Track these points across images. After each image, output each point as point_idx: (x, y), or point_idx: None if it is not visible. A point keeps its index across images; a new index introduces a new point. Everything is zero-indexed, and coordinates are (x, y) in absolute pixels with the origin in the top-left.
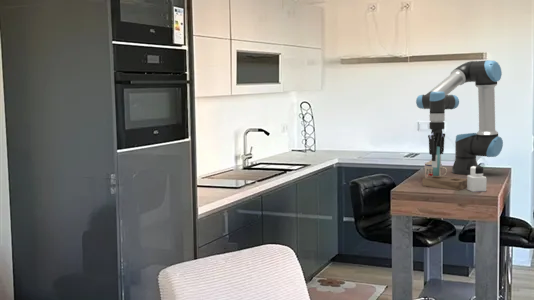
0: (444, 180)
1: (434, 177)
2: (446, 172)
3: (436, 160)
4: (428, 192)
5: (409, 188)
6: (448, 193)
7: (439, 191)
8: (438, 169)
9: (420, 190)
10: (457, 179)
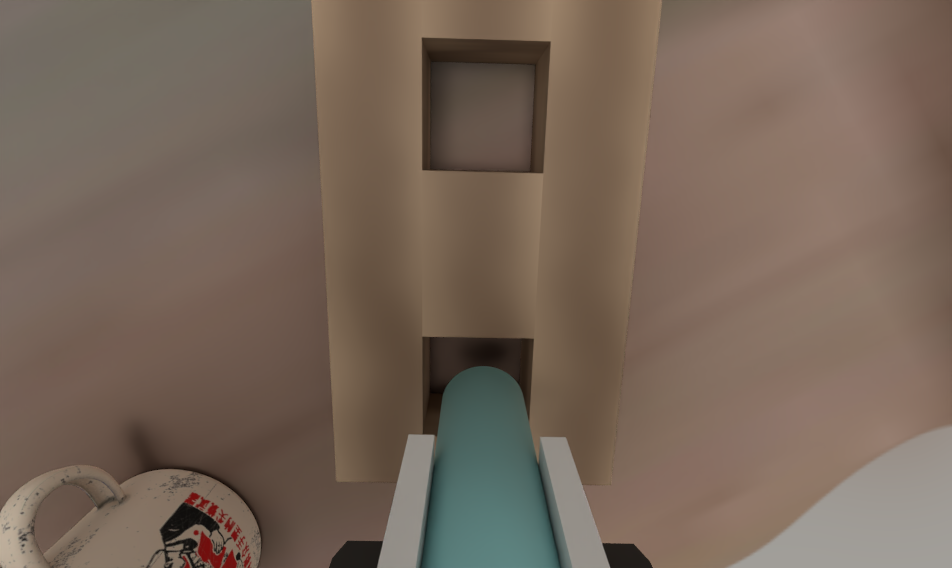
0: (620, 209)
1: (428, 433)
2: (59, 470)
3: (596, 529)
4: (912, 213)
5: (775, 463)
6: (881, 2)
7: (802, 150)
8: (499, 411)
9: (834, 332)
10: (421, 117)
